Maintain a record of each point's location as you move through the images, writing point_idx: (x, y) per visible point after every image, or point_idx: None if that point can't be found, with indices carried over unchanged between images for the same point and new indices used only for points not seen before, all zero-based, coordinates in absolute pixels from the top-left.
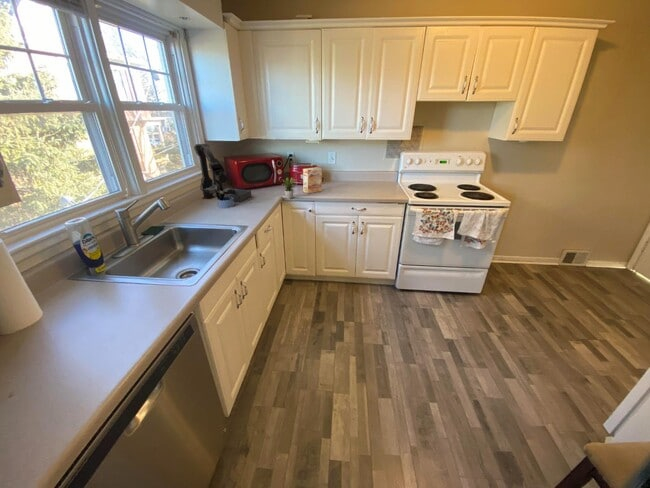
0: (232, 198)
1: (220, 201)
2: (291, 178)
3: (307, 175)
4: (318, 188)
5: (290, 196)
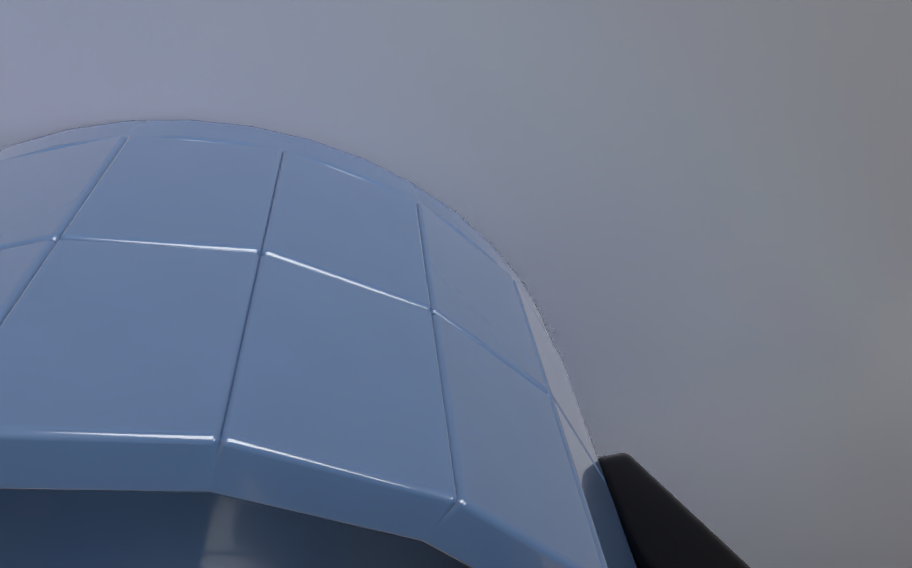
0: None
1: (35, 350)
2: None
3: None
4: None
5: None
